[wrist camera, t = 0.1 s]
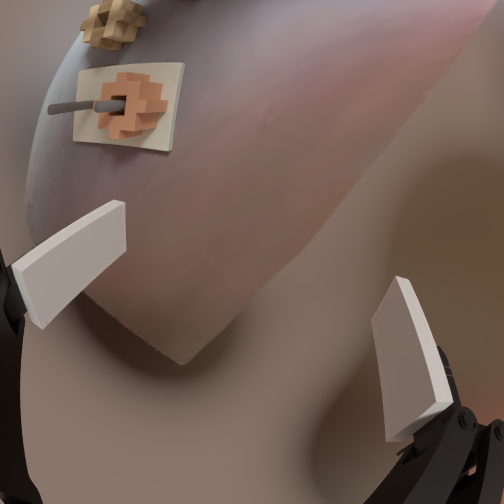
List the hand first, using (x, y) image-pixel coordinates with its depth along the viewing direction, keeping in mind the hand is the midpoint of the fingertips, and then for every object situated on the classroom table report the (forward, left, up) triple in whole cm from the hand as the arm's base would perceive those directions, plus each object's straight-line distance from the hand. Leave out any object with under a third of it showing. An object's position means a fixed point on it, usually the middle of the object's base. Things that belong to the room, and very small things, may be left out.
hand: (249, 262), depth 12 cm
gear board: (-5, -29, -28) cm, 41 cm away
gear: (-20, -32, -28) cm, 47 cm away
